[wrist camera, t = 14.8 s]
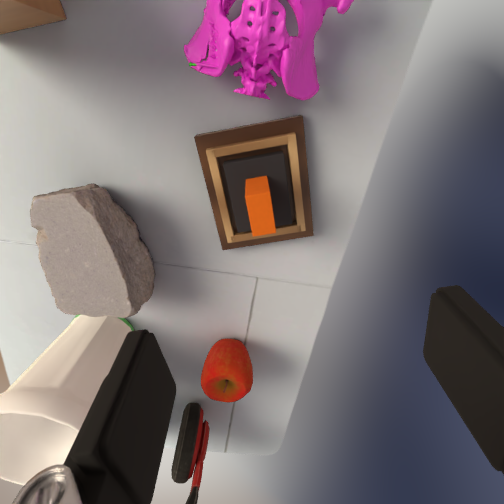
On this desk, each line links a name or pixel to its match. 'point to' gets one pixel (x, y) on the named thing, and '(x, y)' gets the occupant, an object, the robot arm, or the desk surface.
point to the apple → (227, 371)
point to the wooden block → (28, 14)
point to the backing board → (249, 144)
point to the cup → (56, 396)
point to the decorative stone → (91, 253)
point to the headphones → (191, 449)
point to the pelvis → (261, 44)
